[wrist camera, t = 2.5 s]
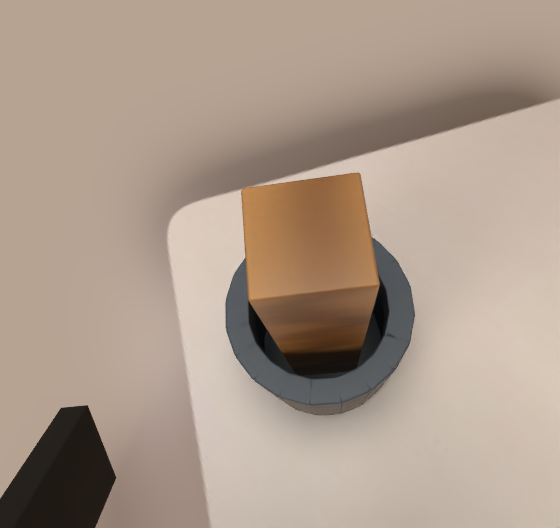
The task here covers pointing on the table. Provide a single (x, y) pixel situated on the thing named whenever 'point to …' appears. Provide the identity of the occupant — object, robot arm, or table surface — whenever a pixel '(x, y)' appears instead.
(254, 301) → the wooden block
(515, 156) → the table surface
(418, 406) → the table surface
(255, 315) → the jar
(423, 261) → the table surface
